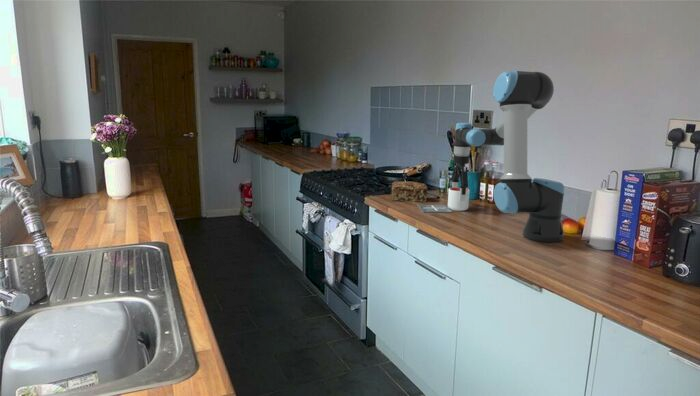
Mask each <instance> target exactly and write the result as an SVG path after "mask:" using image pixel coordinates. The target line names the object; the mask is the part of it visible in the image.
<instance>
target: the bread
mask: <svg viewBox="0 0 700 396" xmlns="http://www.w3.org/2000/svg"><path fill="white" fill-rule="evenodd" d="M427 197H428V185H426V184H425V182H424V183H423V182H417V181H397V180H396V181H393V182H392V184H391V200H392V202H396V201H400V202H407V201H408V203H410V202H411V203H412V202H414V203H416V202H419V203H425V202H427Z"/></svg>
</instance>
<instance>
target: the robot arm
mask: <svg viewBox="0 0 700 396" xmlns="http://www.w3.org/2000/svg"><path fill="white" fill-rule="evenodd" d="M554 88H555V87H554V82H553V80H552V78H551V77H550V76H548V74H546V73H544V72H541V71H521V70H509V71H504V72H501V73H500V74H499V76H498V77H497V78H496V80H495V83H494V86H493V91H492V93H493V99H494V101H495V102H496V103H498V104H499V109H500V110H501V111H502V112H503V118H502V120H501V121H500V123H499V124H497V126H495V128H473V125H472V123H470V122H457V123H456V125H455V129H454V146H453V154H454V155H453V159H452V160H453V161H452V162H453V170H452V175H451V181H452V182H451V183H452V187H451V188H460V199H459V201H465V199H466V189H468V188H469V179H468V166H466V165H467V164H470V154H471V153H470V152H471V150H472V149H471V147H480V146H503V175H502V176H500V177H499V183H496V184H495V186H494V189H493V191H492V192H493V200H494V203H495V206H496V207H497V208H498V210H499V211H501V213H504V214H519V213H520V214H521V213H522V214H523V213H529V215H528V218H527V220H526V222H525V225H524V227H523V228H522V236H523V237H524V238H526V239H530V240H532V241H536V242H544V243H558V242H562V241H563V240H564V236H565V234H564V229H563V225H562V220H561V218H562V213H563V211H562V210H563V203H564V195H565V185H564V184H563V183H562V182H560V181H556V180H551V179H546V178H538V177H534V178H533V179H532V177H531V176H530V175H529V174H528V120H529V119H530V118H531V117H532V115H534V114H535V112H537V111H538V110H542V109H544V108H545V107H546V106H547V105H548V103H550V101H551V100H552V97H553V95H554V91H555V90H554ZM459 182H460V186H459Z"/></svg>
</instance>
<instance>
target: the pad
mask: <svg viewBox="0 0 700 396" xmlns="http://www.w3.org/2000/svg"><path fill="white" fill-rule="evenodd" d="M417 207H418V208H419V210H420V211H421V212H422V213H423V214H424V213H425V214H432V213H433V214H452V213H453V210H451V209H449V208H448V206H447V205H445V204H417Z"/></svg>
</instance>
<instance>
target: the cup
mask: <svg viewBox="0 0 700 396" xmlns="http://www.w3.org/2000/svg"><path fill="white" fill-rule="evenodd" d="M470 191H471V190H470V189H469V188H466V199H465V201H459V199H460V187H458V188H452V187H449V188H448V193H447V194H448V197H447V207H448V208H449V209H450V210H451V211H456V212H465V211H467V210H468V209H469V203H470Z"/></svg>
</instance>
